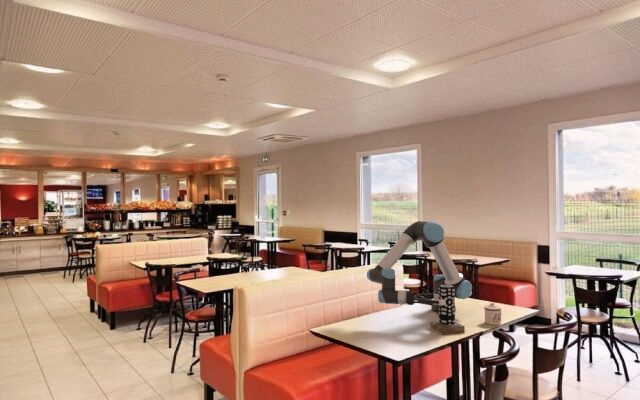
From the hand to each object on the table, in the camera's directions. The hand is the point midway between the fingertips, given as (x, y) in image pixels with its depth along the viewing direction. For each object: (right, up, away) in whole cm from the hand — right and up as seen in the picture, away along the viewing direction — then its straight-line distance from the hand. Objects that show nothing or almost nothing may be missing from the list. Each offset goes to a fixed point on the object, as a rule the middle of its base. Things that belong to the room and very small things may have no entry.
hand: (445, 299), depth 231 cm
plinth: (+1, -17, 0) cm, 17 cm away
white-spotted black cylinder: (+1, -13, 0) cm, 13 cm away
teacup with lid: (+32, -17, +13) cm, 38 cm away
